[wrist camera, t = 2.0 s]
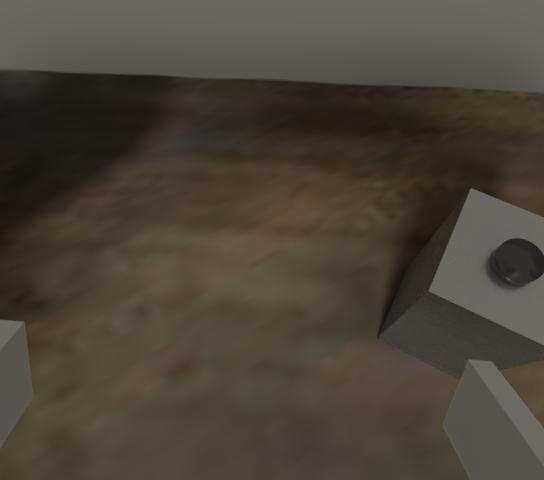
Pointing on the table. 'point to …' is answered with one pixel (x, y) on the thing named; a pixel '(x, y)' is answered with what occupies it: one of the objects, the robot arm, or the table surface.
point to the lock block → (474, 290)
